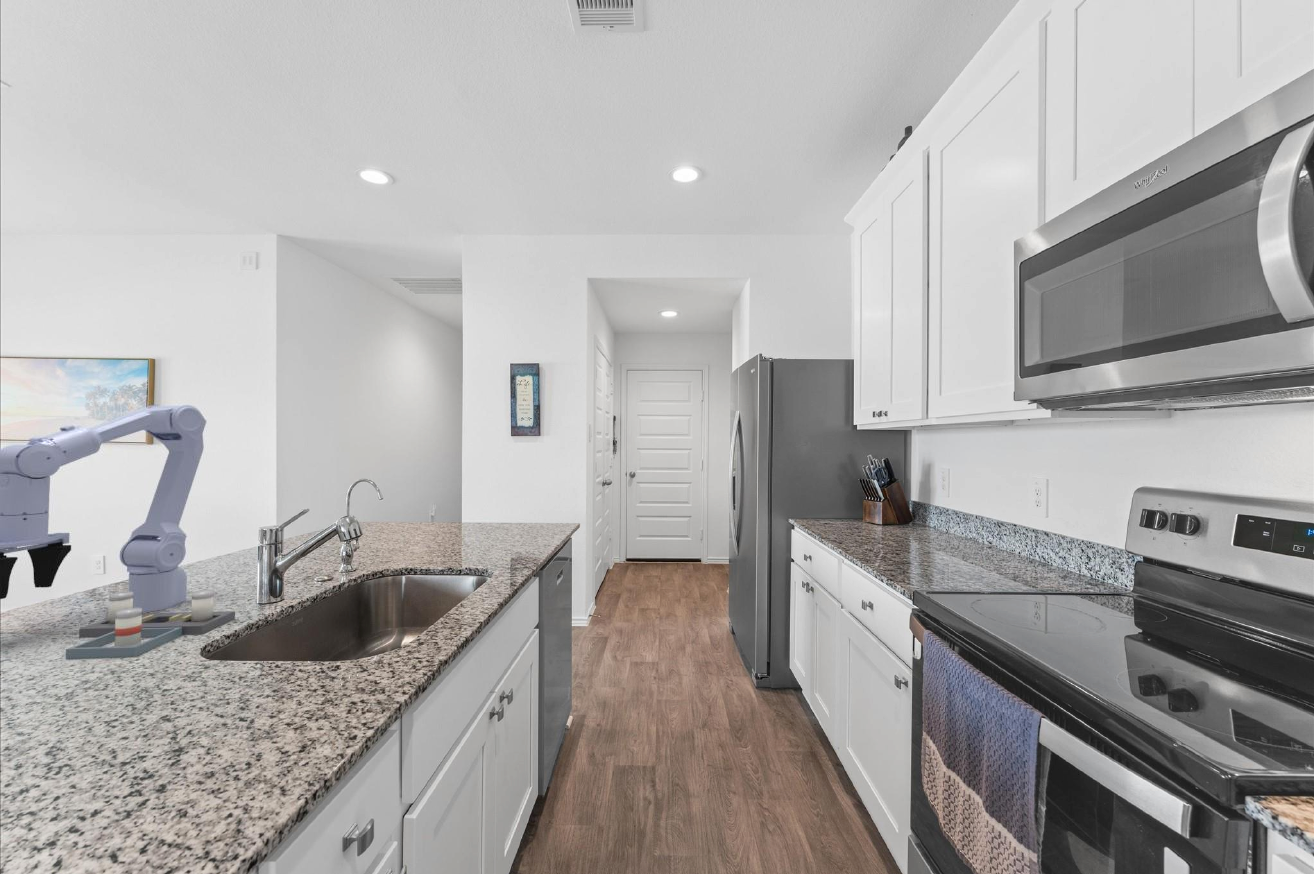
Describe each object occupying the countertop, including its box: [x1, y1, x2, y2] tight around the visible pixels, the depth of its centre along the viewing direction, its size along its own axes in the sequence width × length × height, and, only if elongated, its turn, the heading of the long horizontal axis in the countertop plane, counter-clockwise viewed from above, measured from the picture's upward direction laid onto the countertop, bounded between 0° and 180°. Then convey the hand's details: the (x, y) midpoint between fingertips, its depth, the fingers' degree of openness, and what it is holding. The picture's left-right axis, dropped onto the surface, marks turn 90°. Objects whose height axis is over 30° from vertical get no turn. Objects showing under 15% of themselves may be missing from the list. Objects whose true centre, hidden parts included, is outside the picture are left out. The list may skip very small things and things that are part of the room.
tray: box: [65, 627, 183, 660], centre depth 92 cm, size 10×10×2 cm
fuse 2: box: [190, 589, 215, 622], centre depth 102 cm, size 3×3×6 cm
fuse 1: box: [107, 590, 133, 624], centre depth 101 cm, size 3×3×6 cm
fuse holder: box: [78, 610, 236, 639], centre depth 102 cm, size 9×20×3 cm, turn 96°
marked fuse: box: [113, 607, 142, 647], centre depth 92 cm, size 3×3×6 cm
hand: (21, 592), depth 94 cm, fingers open, 7 cm apart
